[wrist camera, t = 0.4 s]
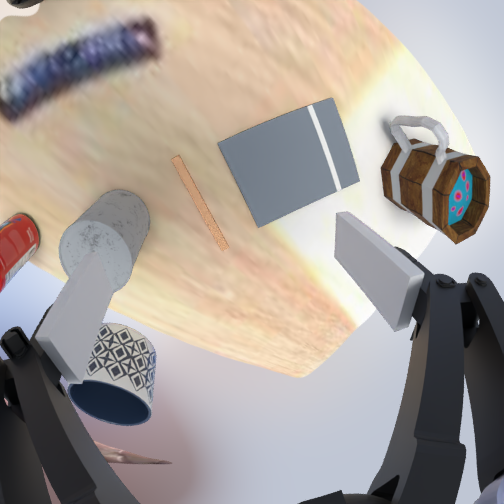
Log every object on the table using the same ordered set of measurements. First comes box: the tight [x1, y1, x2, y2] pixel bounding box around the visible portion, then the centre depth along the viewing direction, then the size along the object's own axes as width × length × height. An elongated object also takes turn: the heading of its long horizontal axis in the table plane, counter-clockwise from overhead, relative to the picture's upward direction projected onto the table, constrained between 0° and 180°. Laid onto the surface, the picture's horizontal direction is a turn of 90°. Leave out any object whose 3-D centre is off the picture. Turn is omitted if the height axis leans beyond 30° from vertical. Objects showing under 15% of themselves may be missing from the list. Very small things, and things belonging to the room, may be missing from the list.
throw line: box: [171, 155, 229, 251], centre depth 39 cm, size 16×1×1 cm, turn 24°
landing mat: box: [218, 98, 360, 228], centre depth 38 cm, size 14×18×1 cm
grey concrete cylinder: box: [59, 190, 150, 293], centre depth 33 cm, size 10×10×12 cm
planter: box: [67, 323, 156, 426], centre depth 43 cm, size 16×16×14 cm
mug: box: [381, 116, 490, 244], centre depth 34 cm, size 20×14×15 cm
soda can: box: [0, 214, 39, 292], centre depth 28 cm, size 8×8×15 cm
